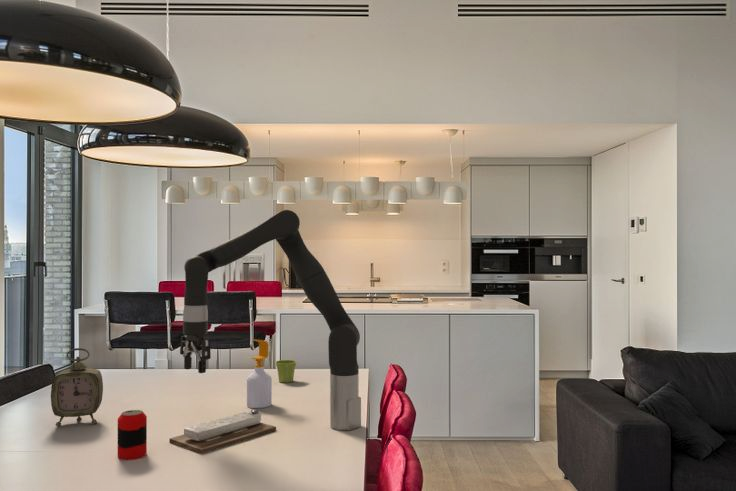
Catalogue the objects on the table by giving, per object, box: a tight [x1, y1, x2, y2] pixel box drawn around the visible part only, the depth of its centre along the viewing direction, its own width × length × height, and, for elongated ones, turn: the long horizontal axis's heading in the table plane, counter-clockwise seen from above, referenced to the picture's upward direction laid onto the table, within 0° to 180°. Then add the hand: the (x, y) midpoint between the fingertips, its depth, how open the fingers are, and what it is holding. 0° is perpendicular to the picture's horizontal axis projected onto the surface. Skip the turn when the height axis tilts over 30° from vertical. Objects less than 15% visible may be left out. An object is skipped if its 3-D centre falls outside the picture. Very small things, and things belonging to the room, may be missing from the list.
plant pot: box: [275, 359, 298, 384], centre depth 261 cm, size 9×9×9 cm
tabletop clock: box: [50, 347, 104, 428], centre depth 198 cm, size 14×9×25 cm, turn 105°
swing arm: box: [183, 409, 262, 441], centre depth 185 cm, size 7×26×3 cm, turn 141°
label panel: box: [168, 421, 277, 455], centre depth 184 cm, size 16×28×2 cm, turn 141°
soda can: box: [117, 409, 148, 461], centre depth 167 cm, size 8×8×12 cm
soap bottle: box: [246, 338, 273, 409], centre depth 220 cm, size 9×9×25 cm
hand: (194, 370), depth 188 cm, fingers open, 8 cm apart
